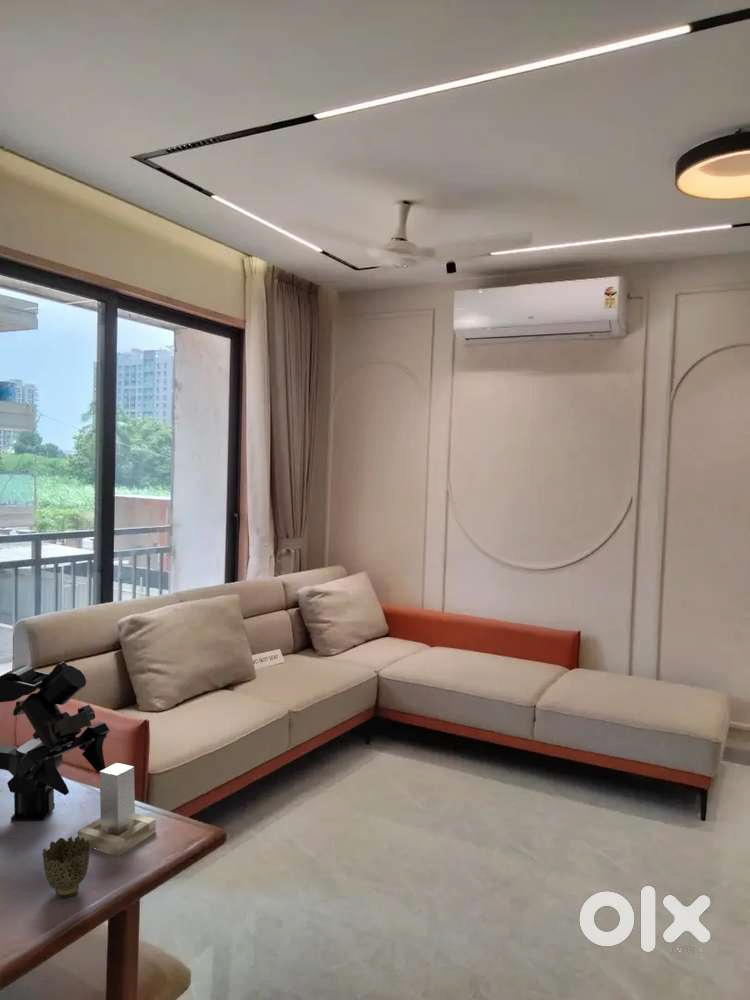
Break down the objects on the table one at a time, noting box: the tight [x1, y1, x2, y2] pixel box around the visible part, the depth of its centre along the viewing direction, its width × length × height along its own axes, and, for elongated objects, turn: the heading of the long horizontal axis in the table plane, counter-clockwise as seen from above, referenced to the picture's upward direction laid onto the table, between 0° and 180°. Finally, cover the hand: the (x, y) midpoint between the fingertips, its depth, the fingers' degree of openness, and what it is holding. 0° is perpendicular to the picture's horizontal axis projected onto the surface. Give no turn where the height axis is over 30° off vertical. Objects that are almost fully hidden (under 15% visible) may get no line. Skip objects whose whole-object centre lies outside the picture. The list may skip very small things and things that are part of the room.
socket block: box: [77, 812, 157, 857], centre depth 141 cm, size 10×10×3 cm
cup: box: [41, 836, 91, 899], centre depth 123 cm, size 8×7×8 cm
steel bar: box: [99, 762, 136, 836], centre depth 141 cm, size 4×4×13 cm
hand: (86, 784), depth 144 cm, fingers open, 9 cm apart
